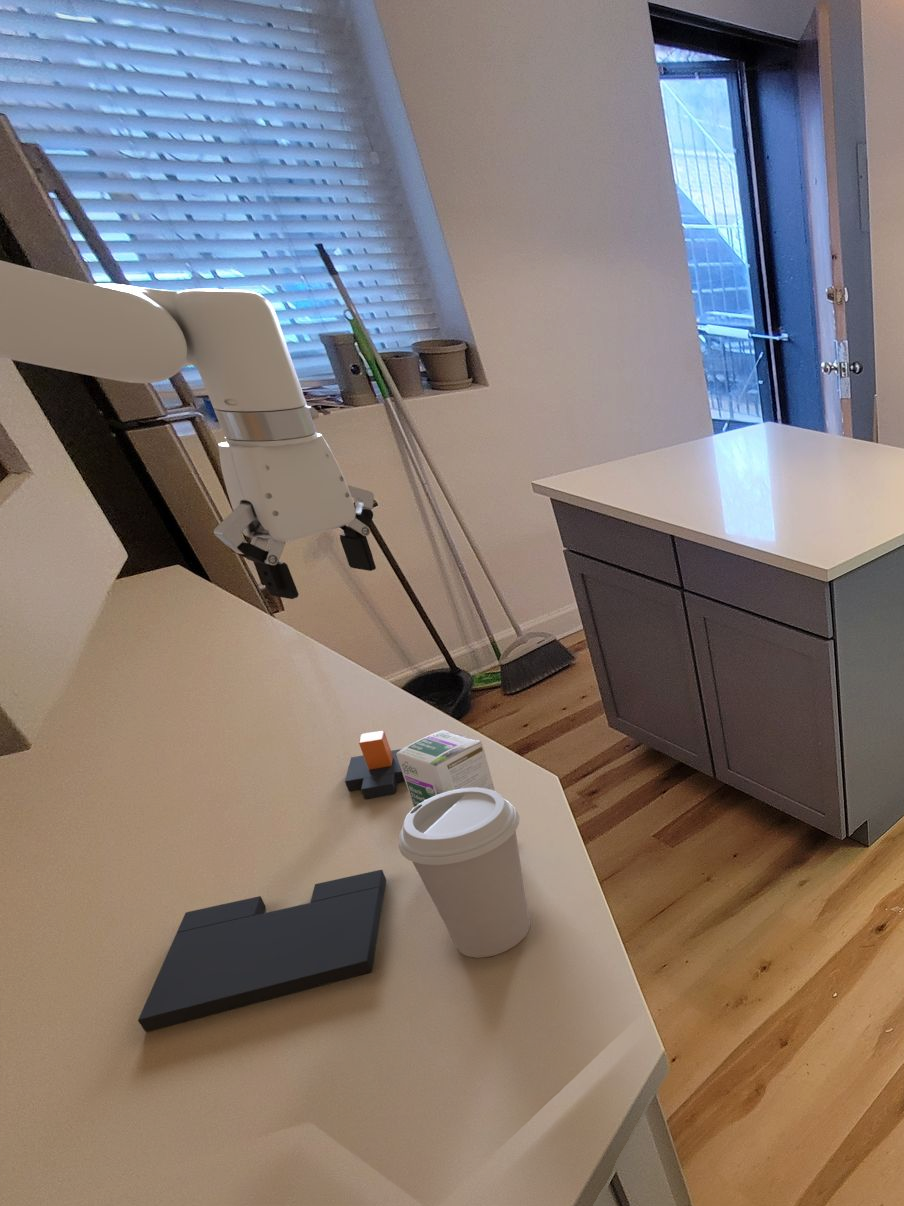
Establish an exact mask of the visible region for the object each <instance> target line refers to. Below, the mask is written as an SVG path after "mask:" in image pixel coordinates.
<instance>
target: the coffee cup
mask: <svg viewBox="0 0 904 1206" xmlns="http://www.w3.org/2000/svg"><path fill="white" fill-rule="evenodd" d="M519 824H520V815H519V812H518V811H517V810H516V808H515V806H514V805H513V804H512V803H511V802H510V801H508V799H506V798H504V797H503V795H502V794H500V793H499V792H498V791H496V790H495V791H493V790H490V789H485V788H462V789H456V790H451V791H447V792H444V793H441V794H438V795H435V796H433V797H431V798H429V799H427V800H425V801H423V802H421V803H420V804H418V805H417V806H415V807H413V808H411V809H410V810H409V812H408V813H407V814H406V815H405V817H404V819H403V823H402V827H401V829H400V833H399V837H398V850H399V853H400V854H401V855H402V856H403V857H404V858H405V859H406V860H408V861H410V862H411V863H412V864H413V866H414V868H415V870H416V871H417V873H418V875H419V877H420V879H421V882H422V883H423V885H424V886H425V889H426V891H427V892H428V894H429V896H430V898H431V900H432V902H433V904H434V907H435V908H436V909H437V912H438V914H439V916H440V918H441V920H442V922H443V923H444V925H445V927H446V929H447V932H448V934H449V935H450V937H451V939H452V941H453V942H454V945H455V947H456V948H457V949H456V950H458V952H459V953H461V954H462V955H463V956H466V957H469V958H474V959H475V958H477V959H478V958H480V959H481V958H489V957H494V956H497V955H500V954H503V953H505V952H507V951H509V950H511V949H512V948H514V947H516V946H517V945H518V944H519V943H521V941H523V940H524V938H525V937H526V936H527V935H528V933H529V930H530V928H531V922H530V921H531V920H530V914H529V907H528V902H527V896H526V895H527V894H526V889H525V882H524V877H523V870H522V864H521V856H520V850H519V844H518V836H517V830H518V827H519Z"/></svg>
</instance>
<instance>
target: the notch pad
mask: <svg viewBox="0 0 904 1206" xmlns="http://www.w3.org/2000/svg"><path fill="white" fill-rule="evenodd" d="M386 884H387V879H386V875H385V873H384V870H383V869H378V870H374V871H373V870H372V871H369V872H364V873H359V874H355V875H350V876H347V877H346V876H345V877H341V878H337V879H331V880H327V881H323V882H319V883H315V884H314V887H313V890H312V894H311V897H310V898H311V899H310V901H309V902H308V903H302V904H298V905H294V906H290V907H285V908H281V909H277V910H273V911H268V912H265V911H266V908H267V906H266V903H265V902H264V900H263V898H262V896H261V895H258V896H254V897H249V898H245V899H241V900H236V901H232V902H227V903H221V904H217V905H214V906H209V907H205V908H200V909H194V910H190V911H186V912H184V915H183V918H182V919H181V922H180V923H179V926H178V928H177V931H176V933H175V936H174V937H173V940H172V941H171V945H170V947H169V949H168V951H167V954H166V956H165V958H164V960H163V963H162V965H161V967H160V970H159V972H158V973H157V976H156V978H155V981H154V983H153V985H152V987H151V990H150V992H149V994H148V996H147V999H146V1001H145V1003H144V1006H143V1008H142V1010H141V1012H140V1014H139V1017H138V1019H137V1022H138V1023H139V1025H140V1026H141V1028H142V1029H143V1030H144V1032H146V1033H147V1032H151V1031H154V1030H158V1029H162V1028H166V1027H170V1026H173V1025H177V1024H180V1023H186V1022H188V1021H192V1020H196V1019H200V1018H203V1017H208V1016H211V1015H215V1014H218V1013H219V1014H220V1013H223V1012H227V1011H230V1010H234V1009H237V1008H242V1007H246V1006H249V1005H253V1004H257V1003H260V1002H264V1001H267V1000H272V999H276V998H279V997H282V996H287V995H291V994H295V993H297V992H302V991H305V990H310V989H313V988H317V987H321V986H324V985H328V984H329V985H330V984H333V983H336V982H339V981H343V980H347V979H350V978H354V977H359V976H363V975H366V974H370V973H373V967H374V961H375V955H376V948H377V942H378V935H379V929H380V922H381V917H382V916H381V915H382V909H383V902H384V897H385V891H386Z"/></svg>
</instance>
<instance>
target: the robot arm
mask: <svg viewBox="0 0 904 1206" xmlns="http://www.w3.org/2000/svg"><path fill="white" fill-rule="evenodd" d="M0 358H3V359H7V360H12V361H15V362H21V363H26V364H29V365H30V364H31V365H35V366H39V367H40V366H41V367H46V368H50V369H56V370H61V371H64V372H65V371H66V372H72V373H74V374H75V373H77V374H80V375H86V376H92V377H96V378H100V379H106V380H113V381H116V382H117V381H118V382H124V383H130V384H131V383H132V384H154V383H158V382H159V383H160V382H163V381H167V380H168V379H171V378H172V377H174V376H176V375H177V374H178V373H179V372H180V371H181V369H182V368H183V367H192V366H194V367H195V368H196V369H197V371H198V374H199V376H200V378H201V381H202V384H203V386H204V389H205V391H206V393H207V396H208V399H209V401H210V403H211V405H212V408H213V411H214V414H215V416H216V419H217V421H218V423H219V426H220V429H221V432H222V434H223V437H224V439H225V441H224V442H219V443H218V454H219V462H220V468H221V474H222V477H223V478H222V479H223V483H224V486H225V490H226V493H227V496H228V499H229V502H230V505H231V509H232V511H231V512H230V514H229V515H227V516H226V517H225V518H224V519H223V520H222V521H221V522H220V523H219V524H218V525H217V526H216V527H215V528H214V529H213V534H214V536H215V537H216V538H218V539H219V540H220V541H221V542H222V543H223V544H224V545H226V547H228V548H229V549H230V551H231V552H233V553H234V554H236V555H238V556H241V557H242V558H245V559H247V561H248V562H251V563H255V564H256V567H257V570H258V572H259V574H260V577H261V579H262V582H263V584H264V587H265V589H266V590H267V591H268V592H269V594H270V595H271V596H273V597H276V598H281V599H282V598H283V599H289V600H294V599H297V598H299V594H300V593H299V591H298V589H297V586H296V584H295V581H294V578H293V575H292V573H291V571H290V568H289V566H288V564H287V563H286V562H283V561H280V559H281V556H282V554H283V551H284V548H285V545H286V543H289V542H293V541H298V540H300V539H305V538H307V537H311V536H314V535H318V534H321V533H324V532H328V531H332V530H335V529H338V530H340V531H341V532H343V533H342V534H339V540H340V544H341V547H342V548H343V553H344V555H345V557H346V561H347V563H348V566H349V568H352V569H356V570H362V571H369V572H372V571H375V570H376V569H377V566H376V563H375V561H374V556H373V553H372V550H371V547H370V544H369V541H368V538H367V537H368V536H369V535H370V534H371V528H370V525H371V522H372V520H373V518H374V512H373V511H372V510H374V502H375V501H374V500H375V494H374V492H372V491H369V490H367V489H363V488H359V487H356V486H352V485H348V484H347V481H346V478H345V477H344V473H343V471H342V469H341V467H340V465H339V463H338V461H337V459H336V457H335V455H334V453H333V451H332V450H331V447H330V446H329V444H328V442H327V440H326V439H325V438H324V436H323V434H321V433H320V432H319V433H318V432H317V430H316V427H315V424H314V422H313V421H315V420H318V419H319V412H318V410H317V409H316V408H315V407H314V406H308V403H307V400H306V397H305V395H304V392H303V389H302V386H301V385H302V384H301V382H300V379H299V377H298V374H297V371H296V368H295V365H294V362H293V360H292V356H291V353H290V350H289V348H288V344H287V341H286V339H285V335H284V333H283V330H282V327H281V324H280V321H279V318H278V315H277V313H276V311H275V308H274V306H273V305H272V303H271V302H270V300H268V299H267V298H266V297H265V296H264V295H262V294H260V293H257V292H254V291H250V290H243V289H225V288H224V289H223V288H192V289H191V288H190V289H185V290H181V291H180V290H168V289H157V288H150V287H141V286H135V285H127V284H120V283H109V282H108V283H90V282H87V281H82V280H77V279H75V278H74V279H73V278H70V277H65V276H63V275H58V274H55V273H50V272H46V271H43V270H38V269H35V268H31V267H27V266H23V265H19V264H16V263H12V262H8V261H5V260H1V259H0ZM242 534H243V535H244V536H245V537H247V538H251V541H250V543H249V542H248V541H247V539H245V538H244V536H243V535H242Z"/></svg>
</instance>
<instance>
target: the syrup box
mask: <svg viewBox="0 0 904 1206" xmlns="http://www.w3.org/2000/svg"><path fill="white" fill-rule="evenodd" d="M401 749H402V750H400V751H399V752H397V753H396V755H397V758H398V761H399V764H400V767H401V770H402V773H403V776H404V779H405V781H404V782H405V785H406V788H407V791H408V794H409V797H410V800H411V803H412V806H413V808H414V807H415V806H417V805H418V804H420V803H421V802H423V801H425V800H427V799H429V798H431V797H433V796H435V795H438V794H441V793H444V792H447V791H451V790H456V789H462V788H485V789H490V790H493V791H495V792H496V789H495V786H494V785H495V784H494V781H493V778H492V775H491V770H490V767H489V764H488V763H489V762H488V760H487V755H486V752H485V748H484V744H483V741H482V740H479V739H474V738H470V737H467V736H464V735H461V734H458V733H454V732H452V731H448V730H445V729H442V730H438V731H436V732H434V733H431V734H428V735H426V736H424V737H422V738H419V739H418V740H415V741H414V742H412V743H410V744H408V745H407V746H405V747H403V748H401Z"/></svg>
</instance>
